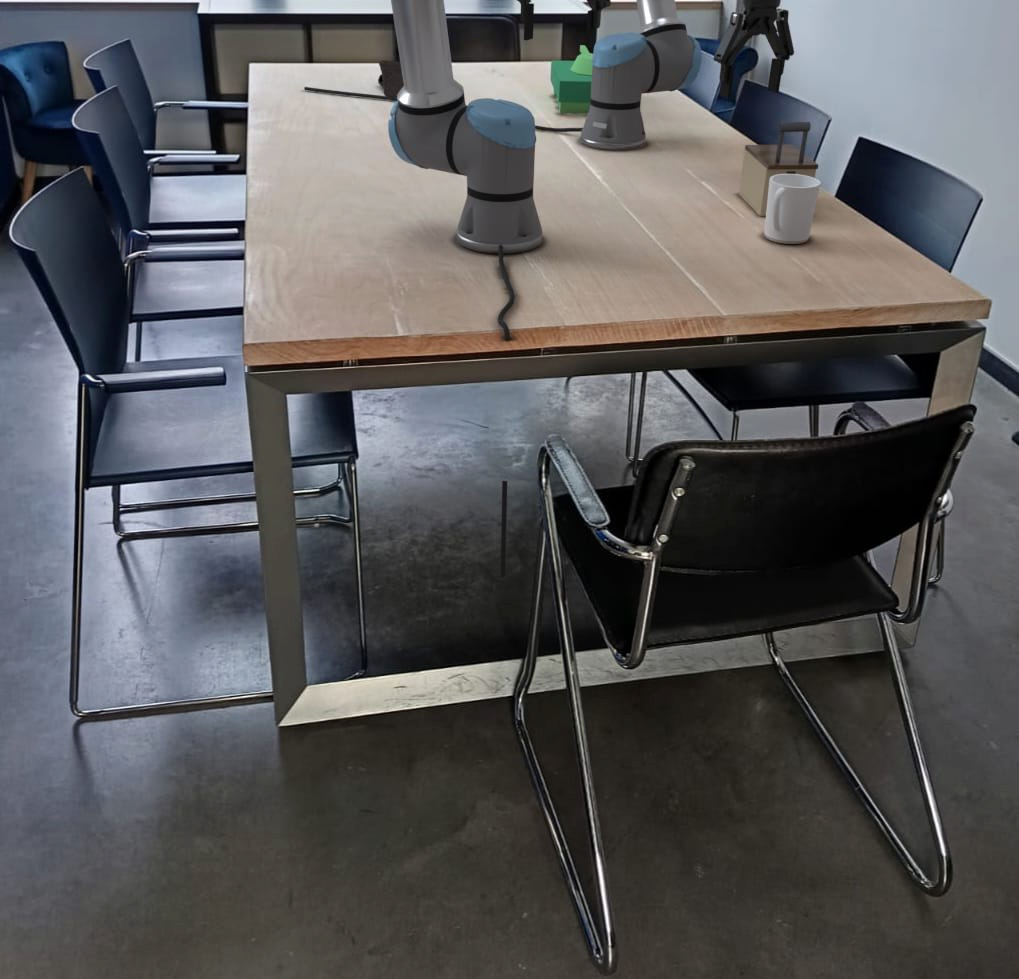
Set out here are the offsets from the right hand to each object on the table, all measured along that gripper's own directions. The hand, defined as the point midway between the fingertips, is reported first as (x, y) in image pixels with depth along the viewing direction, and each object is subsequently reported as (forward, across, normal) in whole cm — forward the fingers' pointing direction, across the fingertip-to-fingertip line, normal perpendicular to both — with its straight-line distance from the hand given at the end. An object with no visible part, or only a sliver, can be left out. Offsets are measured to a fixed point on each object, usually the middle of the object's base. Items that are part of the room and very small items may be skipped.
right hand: (749, 94), depth 233 cm
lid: (+6, -13, -25) cm, 29 cm away
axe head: (+16, -32, +102) cm, 108 cm away
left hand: (-11, -41, +12) cm, 44 cm away
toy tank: (+16, +6, +68) cm, 71 cm away
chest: (+15, -13, -24) cm, 32 cm away
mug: (+15, -26, -41) cm, 51 cm away
